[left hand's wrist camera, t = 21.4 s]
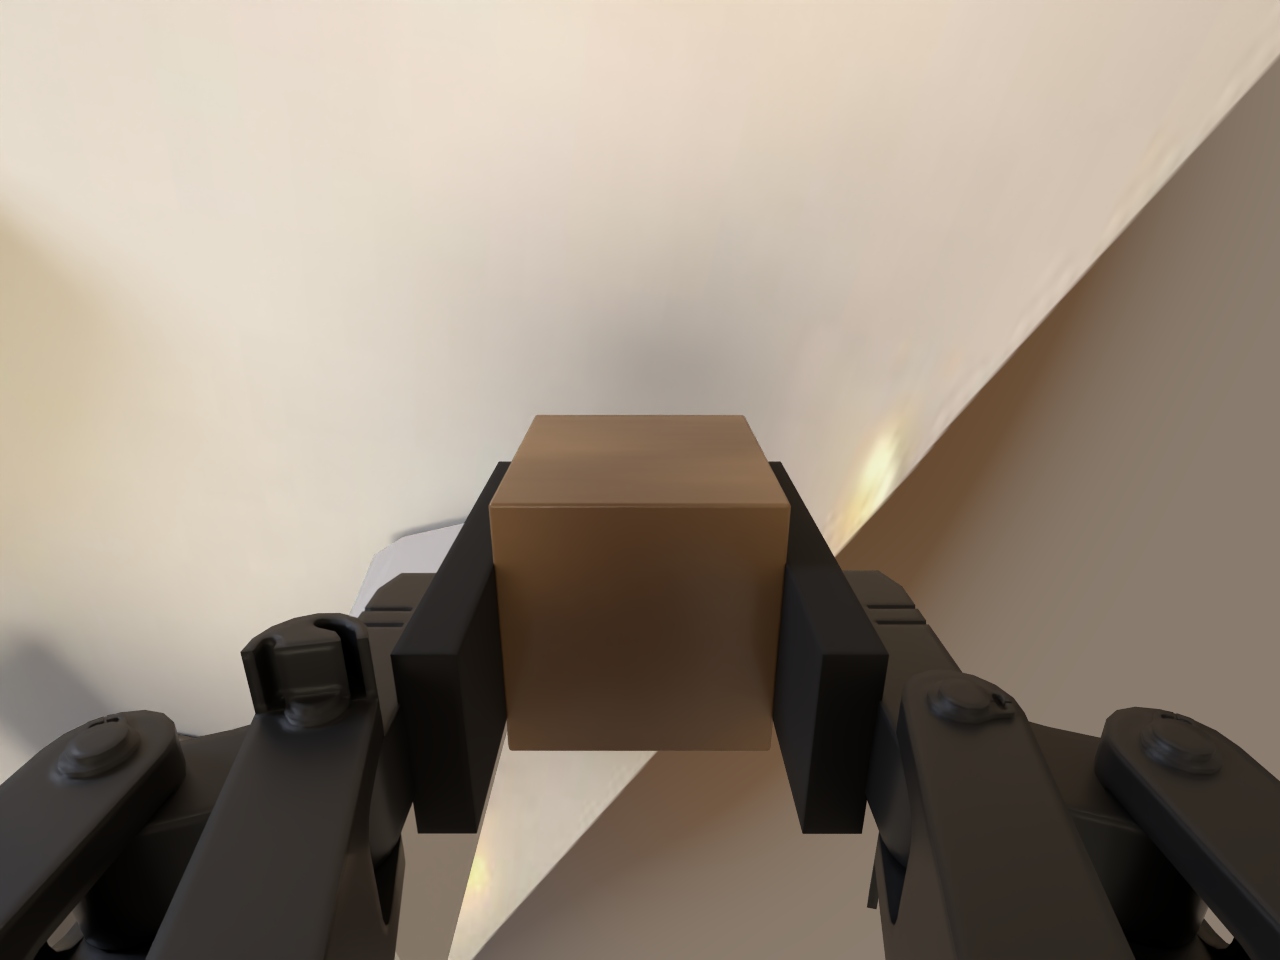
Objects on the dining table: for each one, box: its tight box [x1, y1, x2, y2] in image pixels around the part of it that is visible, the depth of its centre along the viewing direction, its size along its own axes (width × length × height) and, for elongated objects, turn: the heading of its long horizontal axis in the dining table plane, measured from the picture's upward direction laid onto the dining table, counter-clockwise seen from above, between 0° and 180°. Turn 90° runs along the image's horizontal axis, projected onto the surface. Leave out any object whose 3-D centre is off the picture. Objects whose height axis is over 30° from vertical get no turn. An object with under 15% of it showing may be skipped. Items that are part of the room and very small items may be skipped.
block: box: [489, 415, 791, 751], centre depth 12 cm, size 4×4×5 cm
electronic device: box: [349, 523, 507, 960], centre depth 37 cm, size 12×8×30 cm, turn 104°
